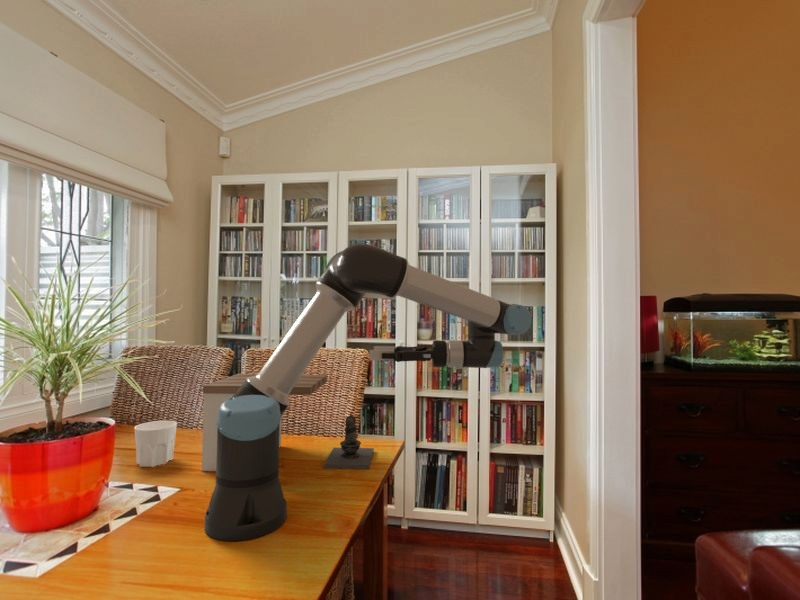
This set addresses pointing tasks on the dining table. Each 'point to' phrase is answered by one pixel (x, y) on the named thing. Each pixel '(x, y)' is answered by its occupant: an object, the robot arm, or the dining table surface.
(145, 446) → the cup
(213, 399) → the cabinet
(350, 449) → the black chess piece
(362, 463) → the mat
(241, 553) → the dining table surface
